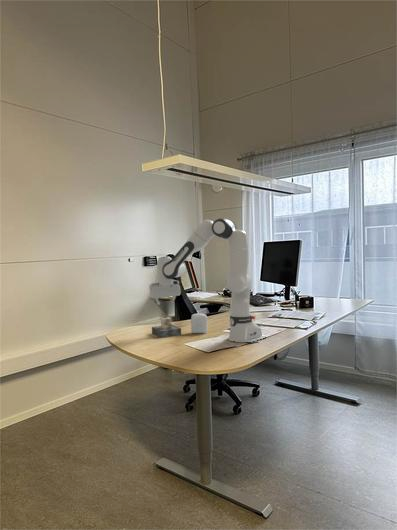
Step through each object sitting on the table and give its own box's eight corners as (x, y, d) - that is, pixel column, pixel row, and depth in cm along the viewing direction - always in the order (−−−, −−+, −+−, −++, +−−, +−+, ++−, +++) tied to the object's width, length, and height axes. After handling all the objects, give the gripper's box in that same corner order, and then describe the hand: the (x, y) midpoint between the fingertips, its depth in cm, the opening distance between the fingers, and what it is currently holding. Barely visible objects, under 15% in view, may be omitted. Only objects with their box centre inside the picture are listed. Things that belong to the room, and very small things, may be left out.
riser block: (171, 330, 234) (171, 324, 234) (181, 334, 222) (180, 328, 222) (152, 333, 228) (151, 327, 227) (160, 337, 215) (160, 331, 215)
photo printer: (207, 332, 228) (207, 312, 227) (207, 333, 223) (206, 314, 223) (191, 332, 229) (191, 313, 228) (191, 333, 224) (190, 314, 224)
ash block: (168, 326, 228) (168, 317, 228) (171, 328, 224) (171, 318, 223) (161, 327, 226) (160, 318, 225) (164, 329, 221) (164, 319, 221)
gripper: (151, 283, 215) (152, 306, 216) (181, 281, 225) (182, 302, 226) (147, 283, 221) (148, 305, 221) (177, 280, 231) (177, 301, 231)
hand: (165, 304), depth 224 cm, fingers open, 8 cm apart
